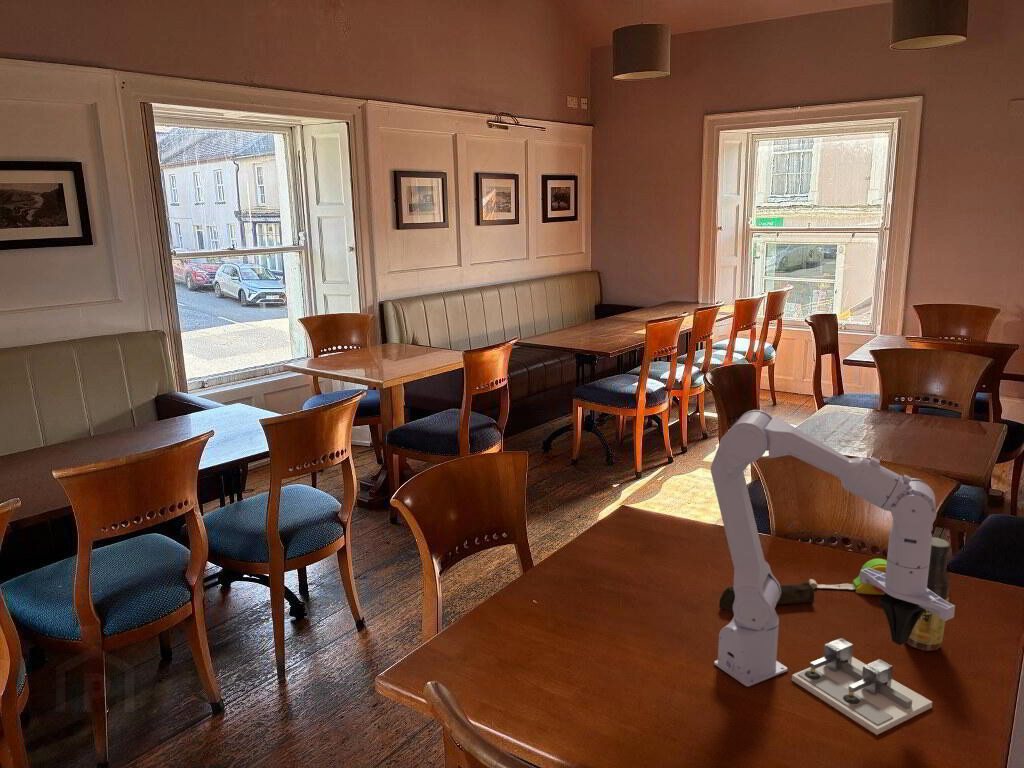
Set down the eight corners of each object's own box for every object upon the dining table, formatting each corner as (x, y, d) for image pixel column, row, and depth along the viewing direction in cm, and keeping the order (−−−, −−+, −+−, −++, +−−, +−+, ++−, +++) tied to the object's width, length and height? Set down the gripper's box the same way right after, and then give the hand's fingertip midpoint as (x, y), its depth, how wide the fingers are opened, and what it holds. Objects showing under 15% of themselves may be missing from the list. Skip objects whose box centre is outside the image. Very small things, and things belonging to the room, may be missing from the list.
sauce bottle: (894, 638, 141) (904, 536, 137) (920, 631, 143) (931, 530, 139) (924, 657, 135) (936, 550, 131) (951, 649, 137) (963, 544, 133)
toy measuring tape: (915, 600, 155) (918, 569, 153) (812, 594, 158) (814, 564, 156) (904, 585, 161) (907, 555, 159) (805, 579, 164) (807, 550, 163)
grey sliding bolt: (855, 703, 121) (857, 681, 120) (842, 695, 123) (844, 674, 122) (890, 687, 125) (892, 666, 124) (877, 679, 127) (879, 658, 126)
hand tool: (805, 597, 157) (806, 575, 156) (815, 606, 153) (816, 584, 152) (714, 604, 155) (715, 582, 154) (722, 614, 151) (722, 592, 150)
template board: (876, 735, 115) (878, 721, 115) (791, 680, 129) (792, 668, 129) (931, 707, 122) (933, 695, 121) (844, 657, 135) (845, 646, 135)
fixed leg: (816, 679, 127) (818, 658, 126) (805, 671, 129) (806, 651, 128) (851, 664, 131) (853, 644, 130) (839, 657, 133) (841, 637, 132)
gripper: (971, 572, 114) (961, 656, 117) (882, 537, 126) (875, 614, 129) (941, 584, 110) (931, 670, 113) (853, 547, 123) (847, 625, 126)
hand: (900, 641), depth 121 cm, fingers closed
